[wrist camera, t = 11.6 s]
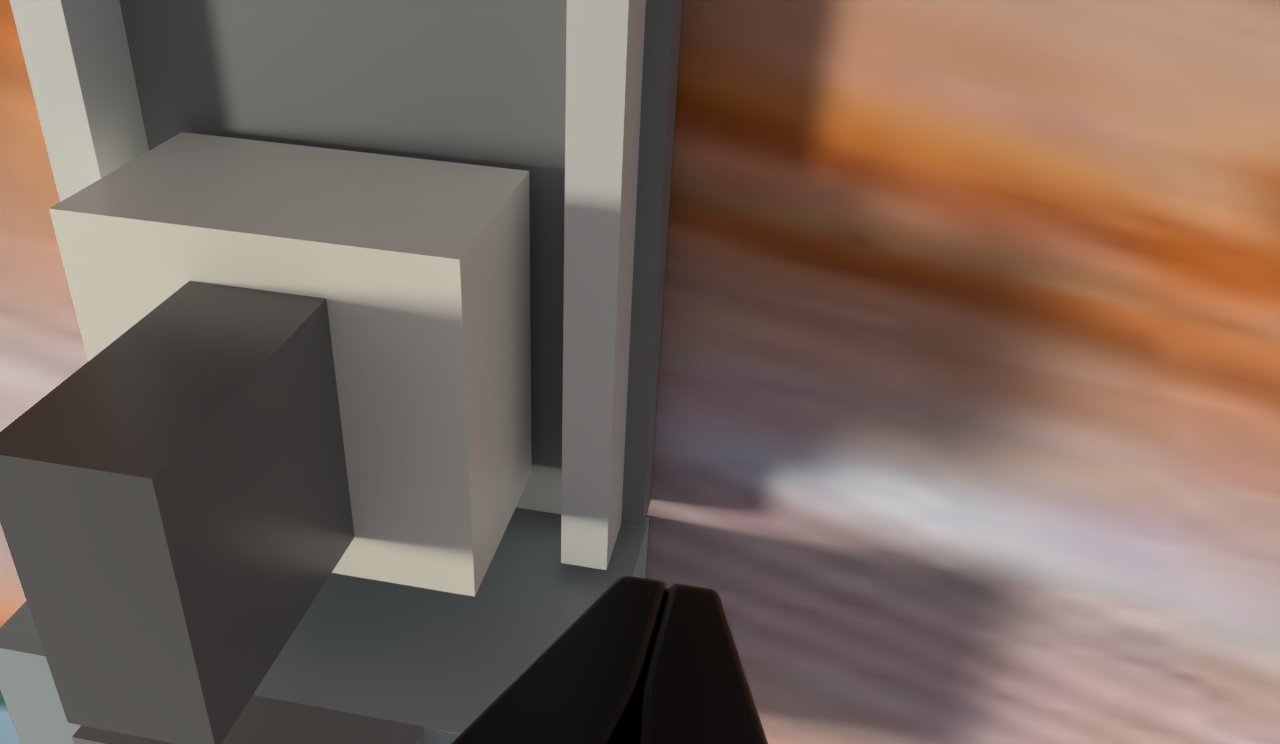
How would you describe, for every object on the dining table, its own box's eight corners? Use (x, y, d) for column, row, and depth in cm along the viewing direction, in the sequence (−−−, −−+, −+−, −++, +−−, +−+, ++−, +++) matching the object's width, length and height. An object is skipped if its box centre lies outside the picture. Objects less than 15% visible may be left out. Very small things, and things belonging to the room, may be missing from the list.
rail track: (725, -657, 15) (689, -753, 12) (650, 500, 25) (622, 599, 22) (-60, -662, 16) (-260, -748, 13) (175, 428, 27) (91, 512, 24)
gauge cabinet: (662, 518, 25) (577, 835, 18) (649, 696, 28) (572, 1028, 21) (179, 444, 27) (-78, 707, 20) (217, 620, 30) (7, 903, 23)
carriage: (529, 170, 20) (318, 438, 12) (531, 473, 24) (370, 824, 16) (181, 132, 21) (-213, 359, 13) (235, 428, 25) (-51, 740, 17)
